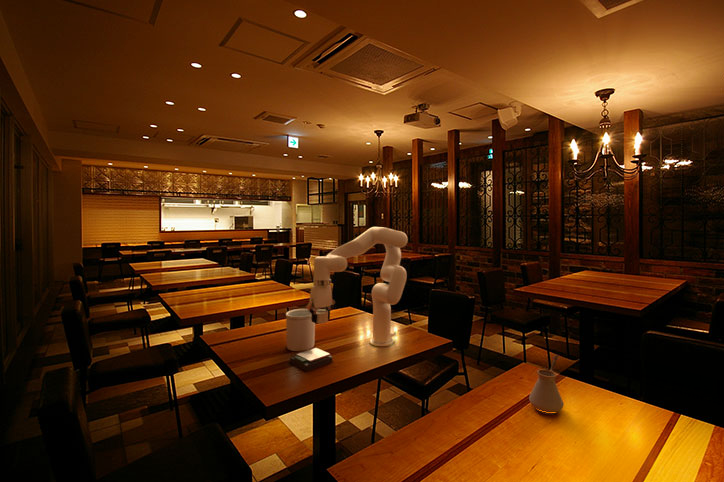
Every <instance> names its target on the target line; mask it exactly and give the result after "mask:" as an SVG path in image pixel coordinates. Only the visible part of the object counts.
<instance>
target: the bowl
mask: <svg viewBox="0 0 724 482" xmlns="http://www.w3.org/2000/svg"><path fill="white" fill-rule="evenodd" d="M316 314H317V323H316V324H319V325H321V324H327V322H329V320H328V310H326V309H317V312H316Z"/></svg>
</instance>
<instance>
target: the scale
mask: <svg viewBox="0 0 724 482" xmlns="http://www.w3.org/2000/svg"><path fill="white" fill-rule="evenodd" d="M331 363H333V356H332V355H330V356H327V357H324V358H321V359H319V360H316V361H313V362H308V361H307V360H305V359H303V358H301V357H299V356H296V355H294V356H291V357H289V364H291V365H293V366H294V367H297V368H299V369H301V370H302V371H305V372H308V371H312V370H315V369H317V368H320V367H323V366H325V365H329V364H331Z"/></svg>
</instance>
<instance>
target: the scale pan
mask: <svg viewBox="0 0 724 482" xmlns="http://www.w3.org/2000/svg"><path fill="white" fill-rule="evenodd" d="M295 356H299V357H301V358H303V359H305V360H307V361H308V362H313V361H316V360H319V359H321V358H324V357H327V356H331V353H329V352H327V351H324V350H323V349H320V348H318V347H313V348H311V349H308V350H304V351H300V352H299V353H296V354H295Z"/></svg>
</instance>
